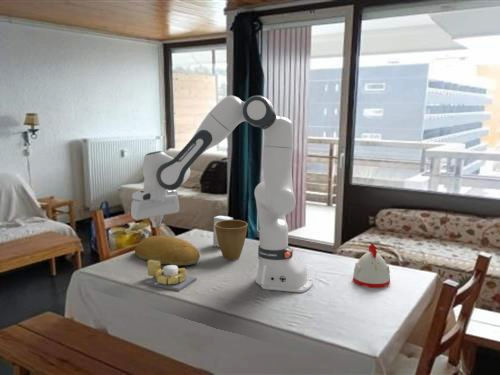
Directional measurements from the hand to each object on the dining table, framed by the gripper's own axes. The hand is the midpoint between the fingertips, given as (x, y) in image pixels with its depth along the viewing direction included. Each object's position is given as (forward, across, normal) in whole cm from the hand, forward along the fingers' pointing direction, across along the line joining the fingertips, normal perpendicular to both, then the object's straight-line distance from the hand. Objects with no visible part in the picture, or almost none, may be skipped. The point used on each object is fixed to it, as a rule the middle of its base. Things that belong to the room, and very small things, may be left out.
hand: (156, 226), depth 168 cm
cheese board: (+19, +1, +6) cm, 20 cm away
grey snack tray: (+21, 0, +9) cm, 22 cm away
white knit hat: (+21, -56, +64) cm, 88 cm away
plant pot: (+21, -37, +4) cm, 42 cm away
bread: (+21, -16, -16) cm, 31 cm away
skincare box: (+21, -46, -12) cm, 52 cm away
